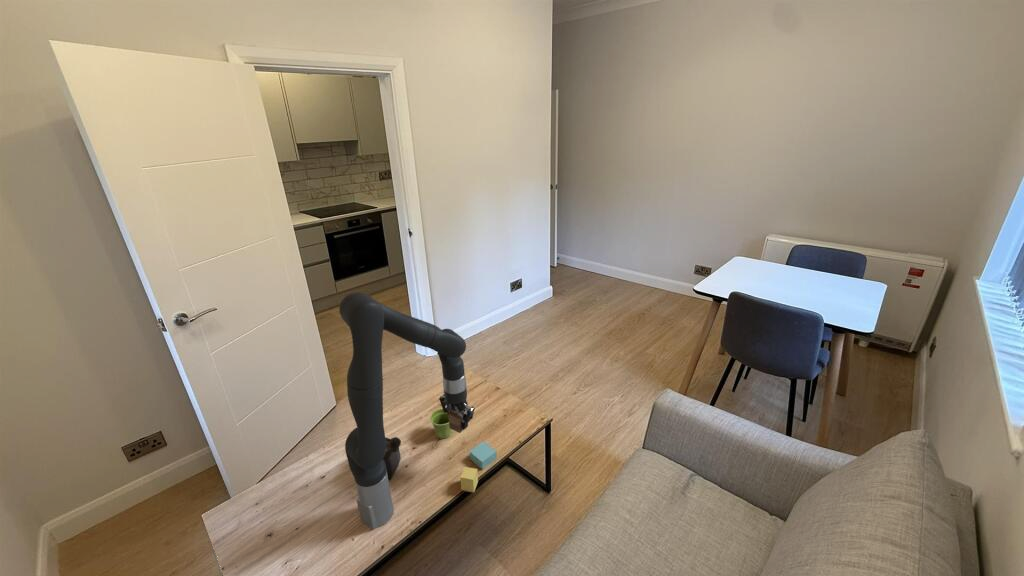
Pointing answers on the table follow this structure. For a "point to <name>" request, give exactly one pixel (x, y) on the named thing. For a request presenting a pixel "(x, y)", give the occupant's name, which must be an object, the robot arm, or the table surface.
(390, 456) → the dark brown ornament
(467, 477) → the mustard block
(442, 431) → the plant pot
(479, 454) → the teal plinth block
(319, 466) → the table surface
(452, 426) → the walnut block
